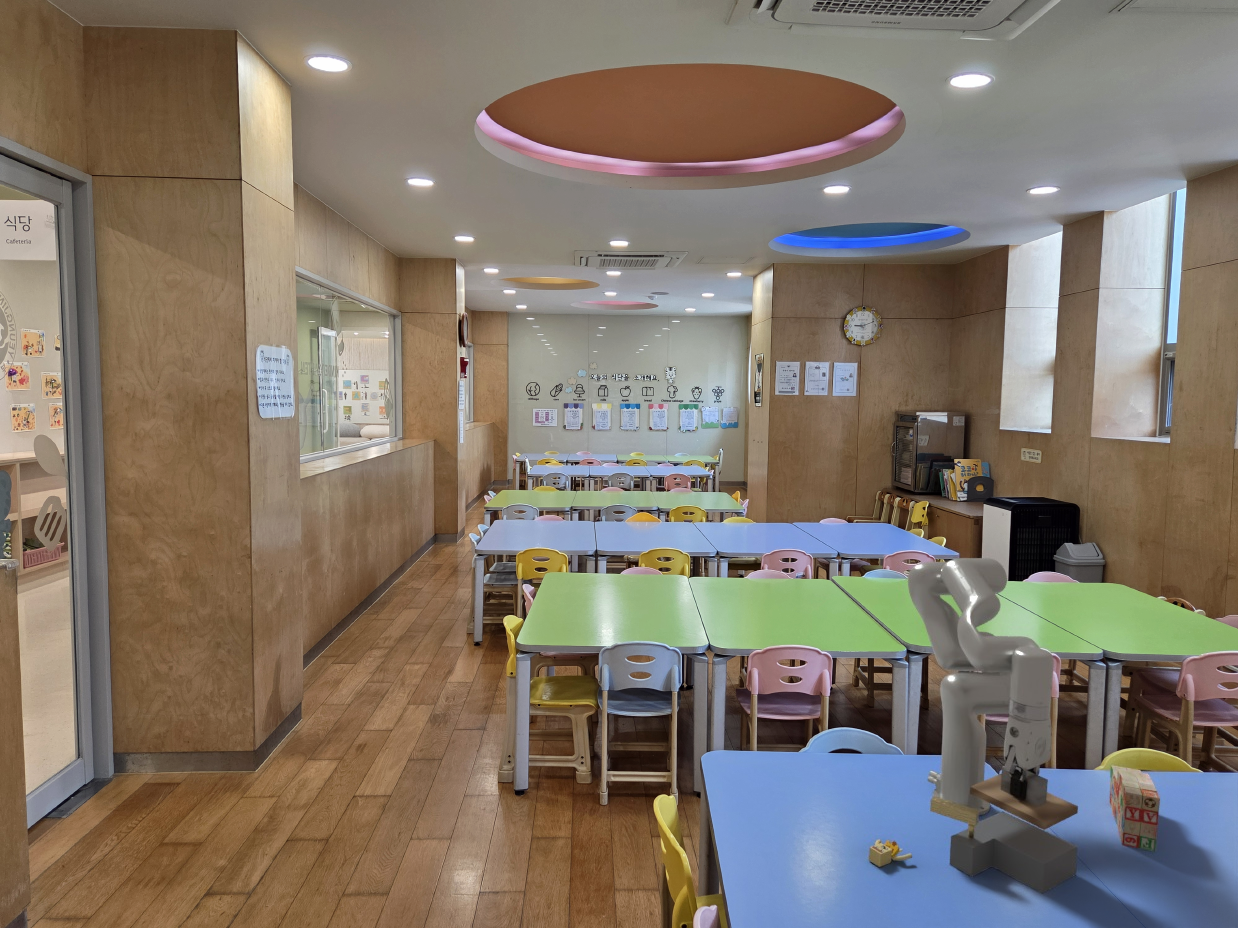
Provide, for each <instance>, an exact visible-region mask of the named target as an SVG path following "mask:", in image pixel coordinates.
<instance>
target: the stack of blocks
mask: <svg viewBox="0 0 1238 928" xmlns="http://www.w3.org/2000/svg"><path fill="white" fill-rule="evenodd" d="M1109 778H1110V780H1109V781H1110V785H1109V789H1110V790H1109V804H1110V809H1111V808H1112V809H1111V812H1112V815H1114V816H1113V819H1114V820H1115V825H1116V824H1117V825H1116V827H1117V832H1118V835H1119V839H1120V841H1121V845H1122V846H1126V847H1129V846H1130V848H1134V847H1135V848H1136V849H1141V850H1144V851H1149V852H1154V853H1156V850H1157V841H1158V839H1157V835H1158V825H1159V817H1160V815H1159V814H1160V804H1161V797H1160V795H1159V794H1158V790H1157V787H1156V786H1155V784H1154V781H1153V780H1152V778H1151V776H1150V775H1149V773H1145V772H1142V771H1141V770H1140V769H1137V768H1129V767H1124V766H1118V765H1112V764H1111V765H1110V775H1109Z"/></svg>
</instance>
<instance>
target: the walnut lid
mask: <svg viewBox="0 0 1238 928" xmlns="http://www.w3.org/2000/svg"><path fill="white" fill-rule="evenodd" d="M1004 767H1005V765H1002V767H1001V773H1000V774H997V775H995V776H993V777H989V778H987V779H984V781H982V782H980V783H978V784H975V785H973V786H970V794H972V795H974V796H976V797H978V798H980V799H982V800H984V801H986V802H988V803H990V805H993V806H994V807H997V808H999V809H1000V810H1002V811H1004V812H1006V813H1008V814H1010V815H1012V816H1014V817H1016V818H1018V819H1020V820H1022V821H1025V822H1027V823H1029V824H1031V825H1033V826H1035V827H1037V828H1039V829H1042V830H1044V831H1045V830H1047V829H1049V828H1051V827H1053V826H1055V825H1057V824H1058V823H1062V822H1063V821H1065V820H1066V819H1067V820H1068V819H1069V818H1072V817H1073V816H1075V815H1077V814H1078V811H1079V806H1078V805H1076V804H1074V803H1072V802H1070V801H1067V800H1066V799H1063V798H1061V797H1059V796H1056V795H1054V794H1052V793H1049V792H1048V781H1049V780H1048V779H1047V778H1045V777H1042V776H1041V775H1036V774H1034V773H1032V772H1029V771H1027V770H1026V778H1025V781H1027V792H1026V799H1025V800H1022V799H1020V798H1018V797H1015V796H1013V795H1011V794H1010V781H1011V776H1010V775H1009V774H1010V773H1009V772H1008V771H1005V770H1004ZM1016 769H1018V770H1019V771H1020V773H1021V769H1020V768H1018V767H1016Z"/></svg>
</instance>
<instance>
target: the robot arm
mask: <svg viewBox="0 0 1238 928" xmlns="http://www.w3.org/2000/svg"><path fill="white" fill-rule="evenodd" d="M1007 583H1008V575H1007V572H1006V570H1005V568H1004V566H1003V565H1002V564H1001V563H1000V562H999V561H998V560H996V559H993V558H990V557H989V558H987V557H985V558H984V557H979V558H977V557H975V558H974V557H973V558H972V557H971V558H969V557H961V558H960V557H959V558H954V559H950V560H948V561H930V562H929V561H927V562H921V563H918V564H916V565H913V567H912V568H911V569H910V570H909V573H908V577H907V586H908V593H909V596H910V599H911V602H912V604H913V605H914V608H916V611H917V613H918V614H919V616H920V618H921V619H922V622H923V625H925V626H924V627H925V630H926V633H927V636H928V639H929V642H930V645H931V648H932V651H933V653H934V654H933V655H934V657H935V659H936V661H937V664H938V666H940V667H941V669H943V670H946V671H951V672H953V673H949V674H948V675H946V676H945V677H944V678H942V680H941V682H940V689H939V693H940V699H941V708H942V739H941V740H942V741H941V743H942V744H941V759H940V760H941V761H940V762H941V763H940V773H938V772H936V771H934V770H930V771H929V773H928V777H927V782H929V783H931V784H933V785H935V789H934V790H932V791H933V792H932V798H933V797H934V796H935V797H938V798H941V799H944V800H947V801H951V802H954V803H957V804H960V805H963V806H966V807H969V808H973V809H976V810H979V816H981V815H982V816H983V815H985V814H987V813H989V811H990V810H991V804H990V803H988V802H986V801H984V800H982V799H980V798H978V797H976V796H974V795H972V794H970V786H973V785H975V784H978V783H980V782H982V781H985V771H986V770H985V769H986V751H987V750H986V749H987V734H986V733H987V732H986V730H985V727H984V726H983V725H982V723H981V722H980V721H979V719H978V716H979V715H1006V714H1007V715H1008V714H1009V715H1008V718H1007V723H1006V730H1005V734H1004V735H1005V736H1004V743H1003V744H1004V745H1003V759H1004V761H1005V765H1004V766H1005V767H1004V770H1005V771H1008V772H1009V773H1010V774H1009V775H1010V776H1011V781H1010V794H1011V795H1013V796H1015V797H1018V798H1020V799H1022V800H1025V799H1026V792H1027V781H1025V778H1026V770H1027V771H1029V772H1032V773H1034V774H1036V775H1038V776H1040V773H1041V771H1040V767H1041V765H1043V764H1045V763H1048V762H1049V761H1050V759H1051V758H1052V757H1051V756H1052V722H1051V705H1052V704H1051V703H1052V691H1053V690H1052V688H1053V678H1054V677H1053V676H1054V667H1055V666H1054V664H1055V660H1054V657H1053V655H1052V653H1050V652H1049V651H1047V650H1045V649H1042V648H1041V647H1040V646H1039V645H1038V644H1037V642H1036V641H1034V639H1032V638H1031V637H1028V636H1019V635H1018V636H1015V635H1013V636H1012V635H1009V636H1008V635H994V634H993V633H991V632H988V631H979V630H978V627H980V626H983V625H985V624H987V623H988V622H990V621H992V620H993V619H995V618H996V617H997V615H998V614H999V612H1000V610H1001V601H1000V598H999V597H998V595H997V594H1000V593H1002V592H1003V591H1004V590H1005V588H1006V586H1007ZM941 596H951V598H953V600H954V602H955V604H956V605H957V607H958V608H959V610H960V612H961V614H960V615H959V613H958V612H957V611H956V609H955V608H954V607H953V606H952V605H950V603H948V602H947V601H946V600H945V599H944V598H942V597H941ZM1016 767H1018V768H1020V769H1021V773H1020V771H1019V770H1018V769H1016Z"/></svg>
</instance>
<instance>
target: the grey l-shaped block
mask: <svg viewBox="0 0 1238 928" xmlns="http://www.w3.org/2000/svg"><path fill="white" fill-rule="evenodd" d="M949 846H950V848H949V849H950V850H949V852H950V853H949V865H951V866H952V867H954V868H956V869H957V870H959V871H961V872H963V873H964V874H966V875H968V876H970V877H973V876H976V875H977V874H980V873H982V872H984V871H986V870H988V869H989V868H991V867H993V868H995V869H997V870H998V871H1000V872H1003V873H1004V874H1005V875H1008V876H1009V877H1012V878H1013V879H1014V880H1017V881H1019V882H1020V883H1022V884H1024V885H1025V886H1028V887H1030V888H1032V889H1033V890H1036V891H1037V892H1039V893H1041V894H1044V893H1046V892H1047V891H1050V890H1052V889H1053V888H1055V887H1057V886H1058V885H1060V884H1062V883H1064V882H1065V880H1066V881H1068V880H1069V879H1071V878H1073V877H1074V876H1076V875H1075V874H1076V872H1077V861H1078V859H1077V857H1078V846H1077V845H1076V844H1073V843H1071V842H1069V841H1067V840H1066V839H1065V840H1064V838H1063V839H1062V838H1061V837H1058V836H1056V835H1054V834H1052V833H1050V832H1048V831H1045V830H1043V829H1041V828H1039V827H1037V826H1035V825H1033V824H1031V823H1029V822H1027V821H1025V820H1023V819H1021V818H1019V817H1017V816H1015V815H1013V814H1011V813H1009V812H1006V811H1004V810H1002V811H1000V812H998V813H996V814H993V815H991V816H989V817H987V818H984V819H982V820H979V821H978V823H977V825H976V826H975V831H974V838H969V837H968V828H966V829H964V830H961V831H960V832H957V833H955V834H953V835H951V836H950V845H949ZM1073 875H1074V876H1073ZM1072 876H1073V877H1072ZM1063 881H1064V882H1063ZM1056 885H1057V886H1056Z"/></svg>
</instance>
